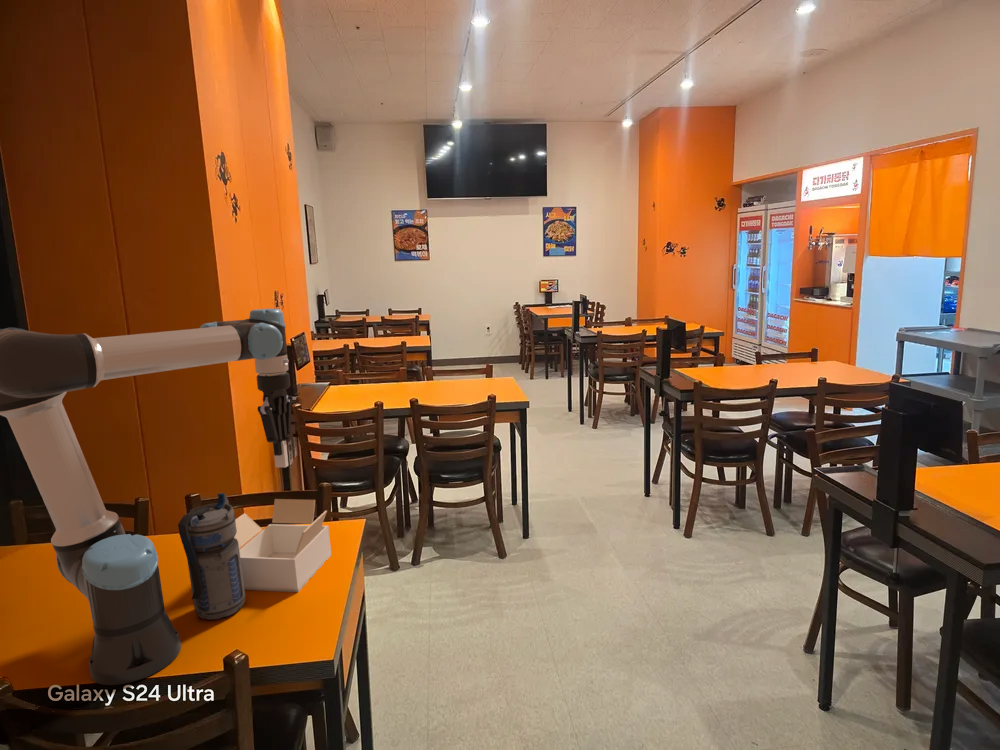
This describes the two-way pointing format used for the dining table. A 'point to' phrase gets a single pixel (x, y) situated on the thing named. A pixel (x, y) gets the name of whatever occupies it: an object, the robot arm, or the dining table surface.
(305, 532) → the flap
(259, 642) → the dining table surface
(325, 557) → the carton
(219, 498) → the beverage bottle
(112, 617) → the robot arm
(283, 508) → the flap
